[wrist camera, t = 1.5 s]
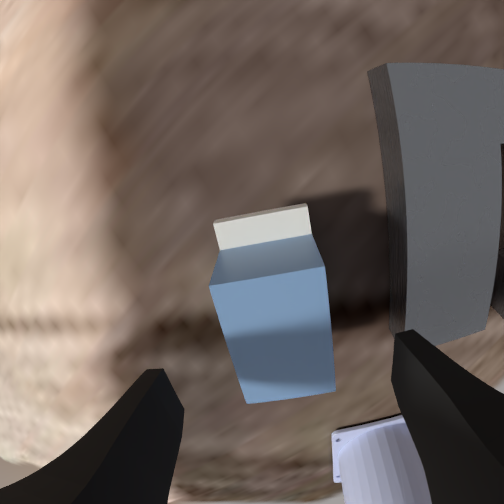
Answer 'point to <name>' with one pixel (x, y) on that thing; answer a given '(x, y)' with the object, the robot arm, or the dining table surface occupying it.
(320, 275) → the block
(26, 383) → the dining table surface
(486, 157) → the plate
